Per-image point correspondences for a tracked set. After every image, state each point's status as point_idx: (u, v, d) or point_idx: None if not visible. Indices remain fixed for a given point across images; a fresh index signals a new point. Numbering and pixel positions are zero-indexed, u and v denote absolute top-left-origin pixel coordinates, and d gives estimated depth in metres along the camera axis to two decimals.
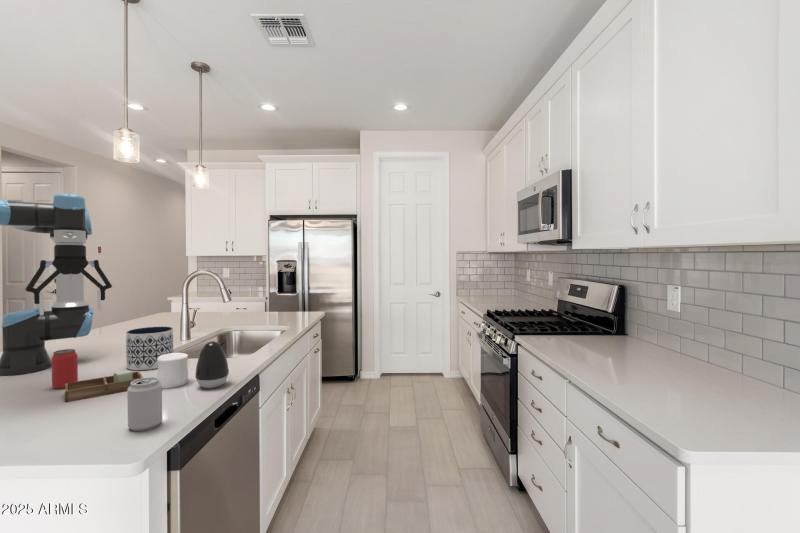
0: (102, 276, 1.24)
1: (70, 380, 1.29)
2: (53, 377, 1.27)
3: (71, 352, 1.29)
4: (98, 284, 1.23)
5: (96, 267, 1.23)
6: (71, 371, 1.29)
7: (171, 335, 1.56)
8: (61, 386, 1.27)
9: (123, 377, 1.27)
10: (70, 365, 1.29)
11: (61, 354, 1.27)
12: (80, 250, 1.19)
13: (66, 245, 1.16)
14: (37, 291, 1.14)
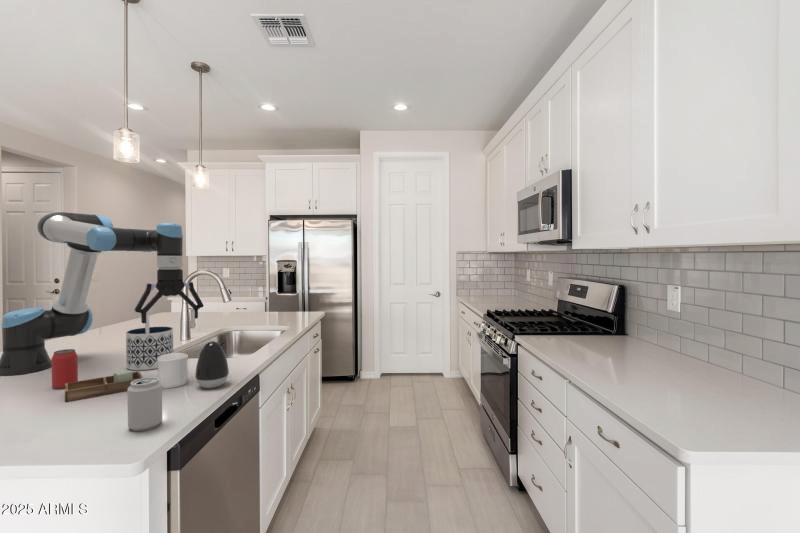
0: (196, 297, 1.36)
1: (70, 380, 1.29)
2: (53, 377, 1.27)
3: (71, 352, 1.29)
4: (192, 304, 1.35)
5: (191, 288, 1.35)
6: (71, 371, 1.29)
7: (171, 335, 1.56)
8: (61, 386, 1.27)
9: (123, 377, 1.27)
10: (70, 364, 1.29)
11: (61, 354, 1.27)
12: (179, 274, 1.31)
13: (169, 270, 1.28)
14: (144, 312, 1.26)
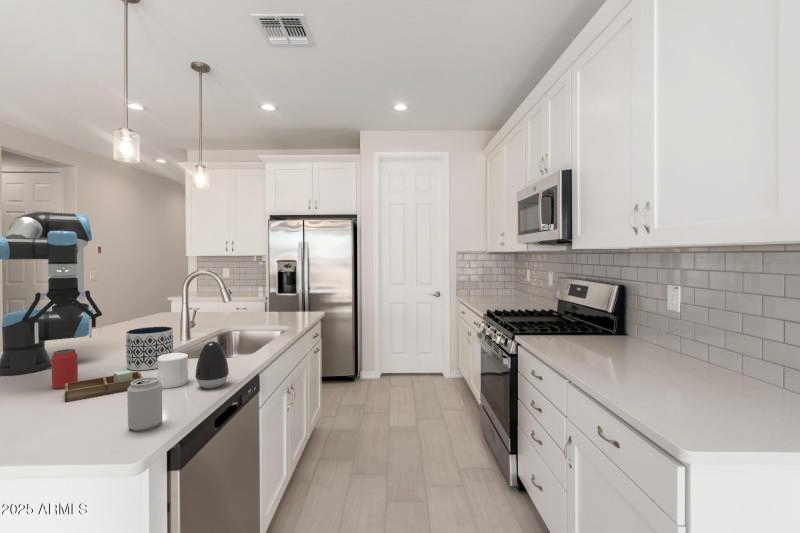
0: (93, 305, 1.33)
1: (70, 380, 1.29)
2: (53, 377, 1.27)
3: (71, 352, 1.29)
4: (89, 313, 1.33)
5: (87, 297, 1.32)
6: (71, 371, 1.29)
7: (171, 335, 1.56)
8: (61, 386, 1.27)
9: (123, 377, 1.27)
10: (71, 364, 1.29)
11: (61, 354, 1.27)
12: (72, 283, 1.29)
13: (59, 278, 1.26)
14: (32, 321, 1.23)
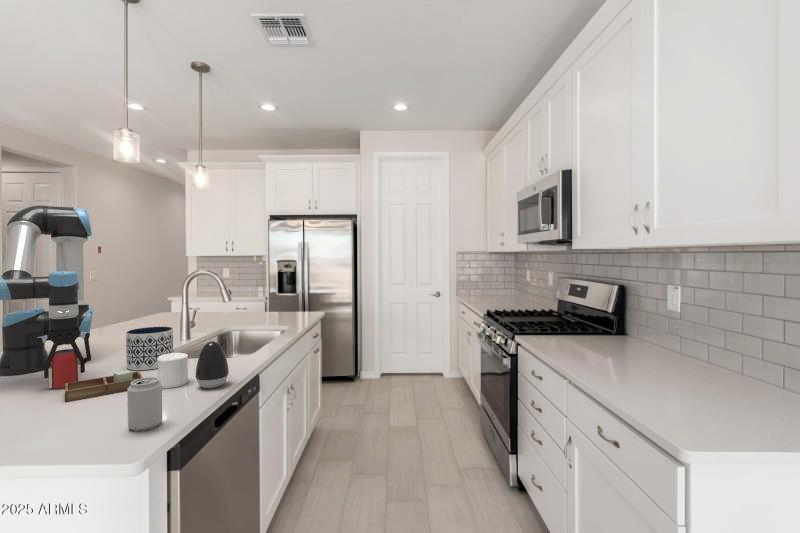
0: (87, 348, 1.33)
1: (70, 380, 1.29)
2: (53, 377, 1.27)
3: (71, 352, 1.29)
4: (80, 357, 1.32)
5: (85, 339, 1.32)
6: (71, 371, 1.29)
7: (171, 335, 1.56)
8: (61, 386, 1.27)
9: (123, 377, 1.27)
10: (70, 364, 1.29)
11: (61, 354, 1.27)
12: (73, 323, 1.29)
13: (60, 319, 1.26)
14: (47, 366, 1.26)
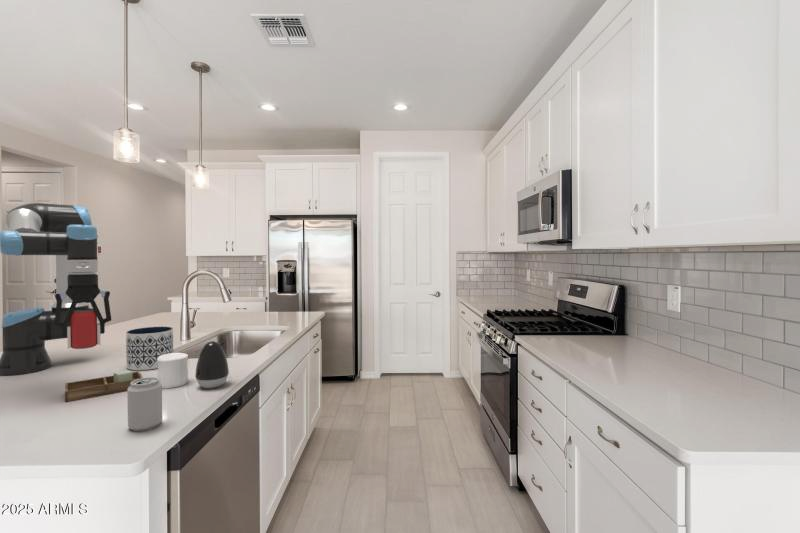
0: (106, 308, 1.25)
1: (90, 340, 1.21)
2: (72, 336, 1.19)
3: (90, 310, 1.22)
4: (100, 317, 1.24)
5: (105, 298, 1.25)
6: (91, 331, 1.21)
7: (171, 335, 1.56)
8: (80, 346, 1.20)
9: (123, 377, 1.27)
10: (90, 324, 1.21)
11: (80, 312, 1.20)
12: (93, 279, 1.22)
13: (79, 275, 1.19)
14: (65, 325, 1.19)
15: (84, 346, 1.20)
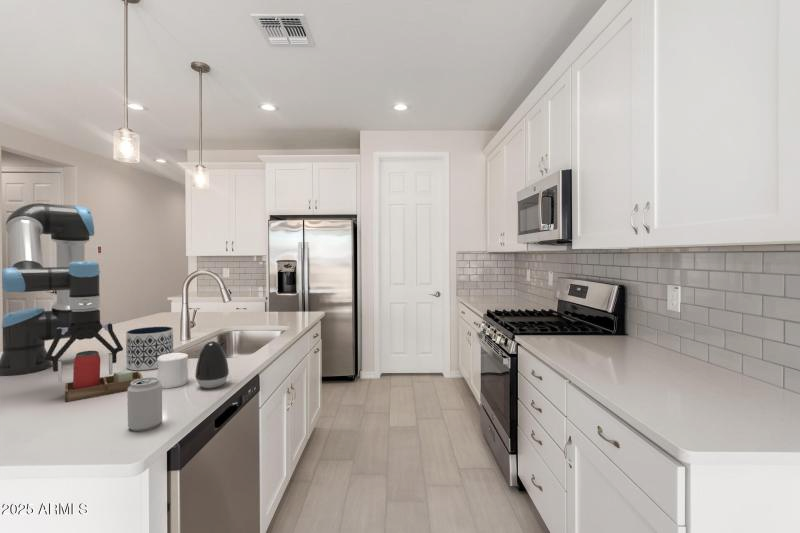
0: (114, 339, 1.26)
1: (92, 384, 1.21)
2: (75, 380, 1.20)
3: (94, 355, 1.22)
4: (110, 348, 1.26)
5: (109, 331, 1.25)
6: (94, 375, 1.22)
7: (171, 335, 1.56)
8: None
9: (123, 377, 1.27)
10: (93, 368, 1.21)
11: (84, 357, 1.20)
12: (95, 316, 1.22)
13: (81, 312, 1.19)
14: (56, 359, 1.17)
15: None
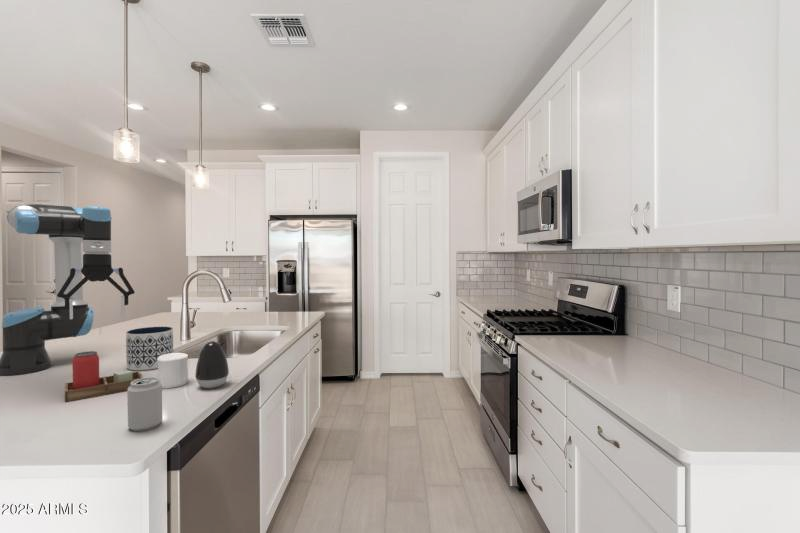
0: (126, 283, 1.33)
1: (92, 384, 1.21)
2: (74, 381, 1.20)
3: (93, 354, 1.22)
4: (122, 290, 1.32)
5: (120, 274, 1.31)
6: (93, 375, 1.22)
7: (171, 335, 1.56)
8: None
9: (123, 377, 1.27)
10: (92, 368, 1.21)
11: (83, 357, 1.20)
12: (106, 259, 1.27)
13: (94, 254, 1.25)
14: (67, 297, 1.23)
15: None
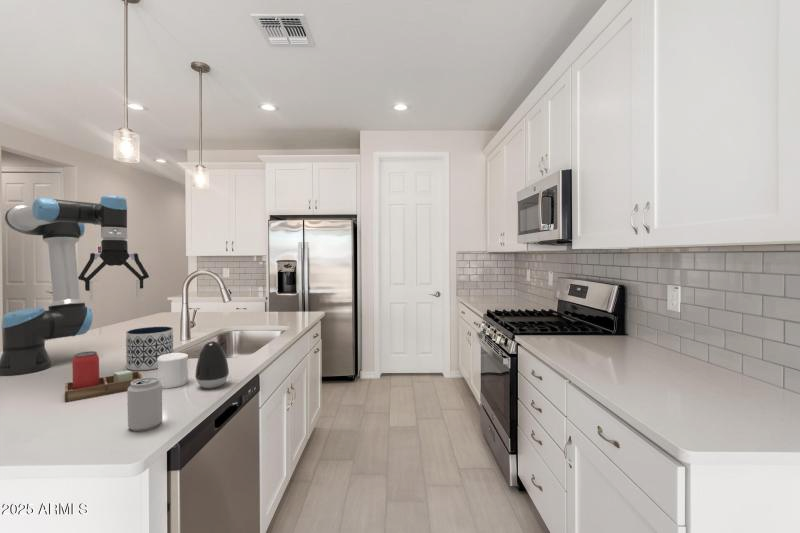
0: (141, 267, 1.42)
1: (92, 384, 1.21)
2: (74, 381, 1.20)
3: (93, 354, 1.22)
4: (137, 274, 1.41)
5: (136, 259, 1.41)
6: (93, 375, 1.22)
7: (171, 335, 1.56)
8: None
9: (123, 377, 1.27)
10: (92, 368, 1.21)
11: (83, 357, 1.20)
12: (123, 245, 1.37)
13: (112, 240, 1.34)
14: (88, 280, 1.32)
15: None
